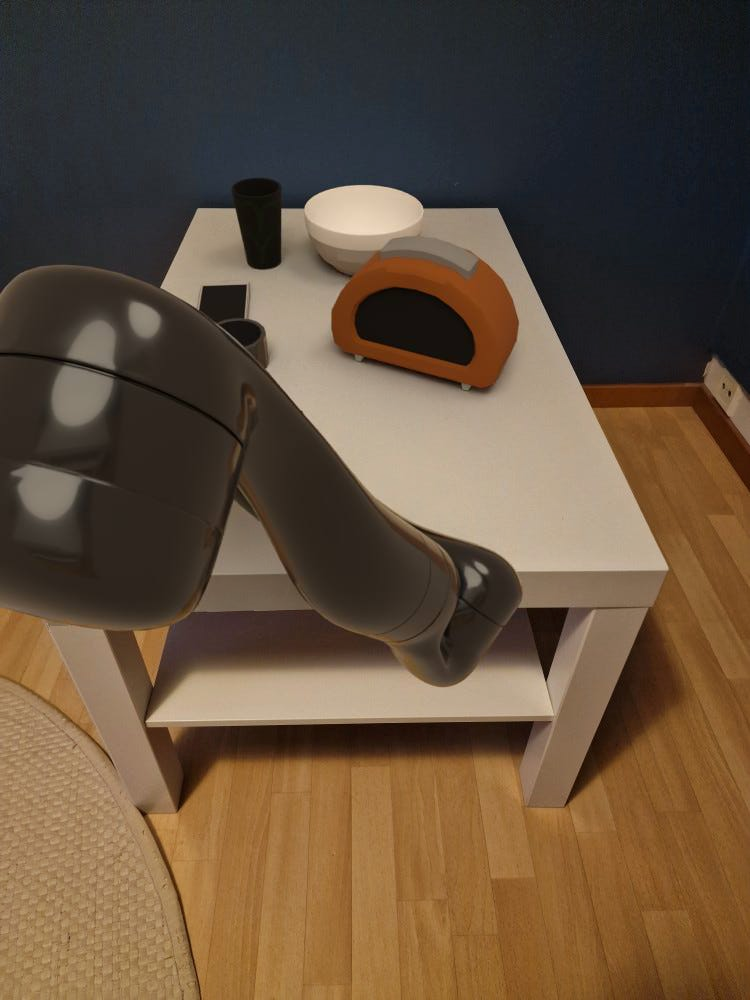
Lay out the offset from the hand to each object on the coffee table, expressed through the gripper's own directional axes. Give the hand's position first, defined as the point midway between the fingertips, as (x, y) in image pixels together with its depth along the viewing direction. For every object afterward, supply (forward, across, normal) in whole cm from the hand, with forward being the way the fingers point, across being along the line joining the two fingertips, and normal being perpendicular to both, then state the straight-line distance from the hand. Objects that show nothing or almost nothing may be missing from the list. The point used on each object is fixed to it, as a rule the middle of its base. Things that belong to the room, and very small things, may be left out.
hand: (182, 406), depth 65 cm
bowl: (+27, -52, +13) cm, 60 cm away
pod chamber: (+18, -19, +13) cm, 30 cm away
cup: (+39, -40, +14) cm, 57 cm away
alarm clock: (+1, -37, +13) cm, 39 cm away
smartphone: (+31, -26, +13) cm, 43 cm away
